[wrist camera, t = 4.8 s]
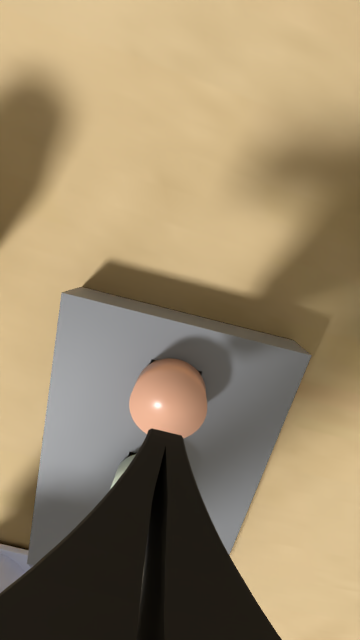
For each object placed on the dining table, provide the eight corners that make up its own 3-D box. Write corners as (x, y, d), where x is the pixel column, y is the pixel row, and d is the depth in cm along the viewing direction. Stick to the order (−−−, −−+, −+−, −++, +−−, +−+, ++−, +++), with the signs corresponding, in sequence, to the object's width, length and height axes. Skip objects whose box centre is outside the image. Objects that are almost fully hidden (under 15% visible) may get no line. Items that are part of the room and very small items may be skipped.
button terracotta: (194, 408, 17) (195, 448, 14) (136, 394, 17) (122, 430, 13) (211, 354, 16) (216, 382, 12) (149, 339, 16) (137, 362, 12)
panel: (206, 566, 22) (208, 605, 19) (45, 528, 21) (26, 564, 19) (293, 340, 16) (311, 355, 14) (81, 286, 16) (61, 292, 14)
